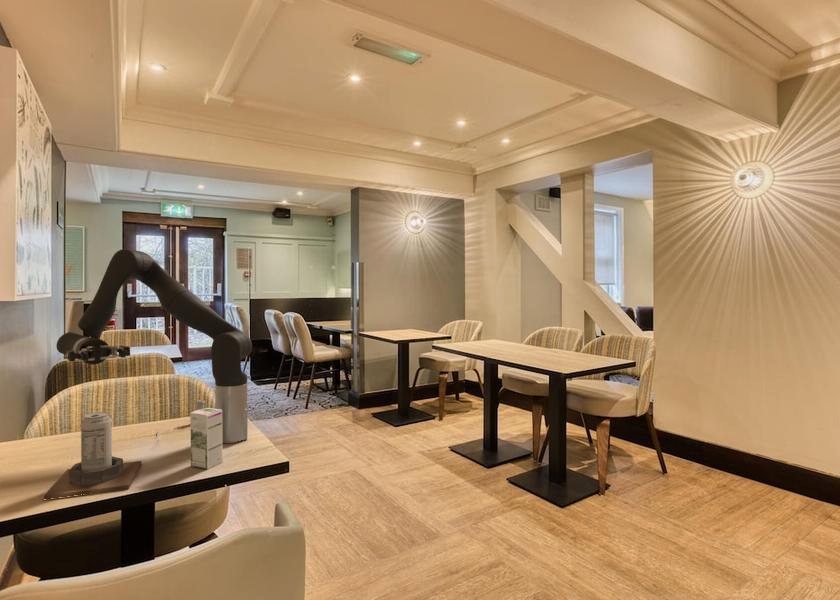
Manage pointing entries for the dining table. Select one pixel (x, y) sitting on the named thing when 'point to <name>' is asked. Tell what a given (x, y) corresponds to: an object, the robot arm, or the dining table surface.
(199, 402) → the rook chess piece
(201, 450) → the syrup box
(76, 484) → the can holder
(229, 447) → the dining table surface
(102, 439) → the energy drink can
